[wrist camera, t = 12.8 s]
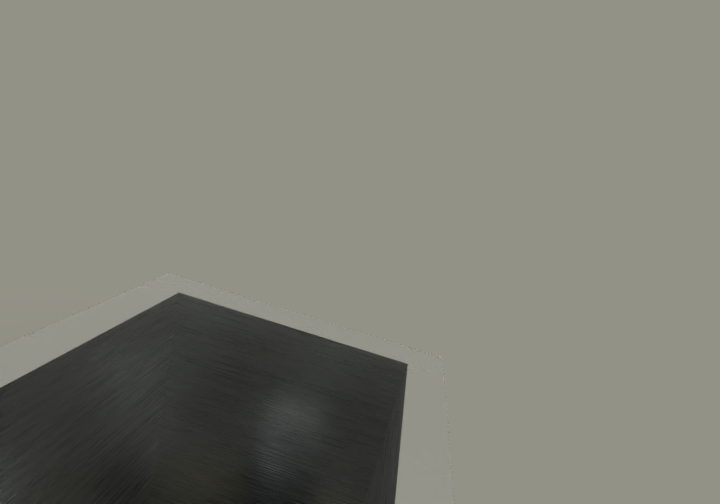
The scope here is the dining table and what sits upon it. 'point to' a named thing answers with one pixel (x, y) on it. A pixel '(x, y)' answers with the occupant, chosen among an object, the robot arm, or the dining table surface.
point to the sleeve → (218, 407)
